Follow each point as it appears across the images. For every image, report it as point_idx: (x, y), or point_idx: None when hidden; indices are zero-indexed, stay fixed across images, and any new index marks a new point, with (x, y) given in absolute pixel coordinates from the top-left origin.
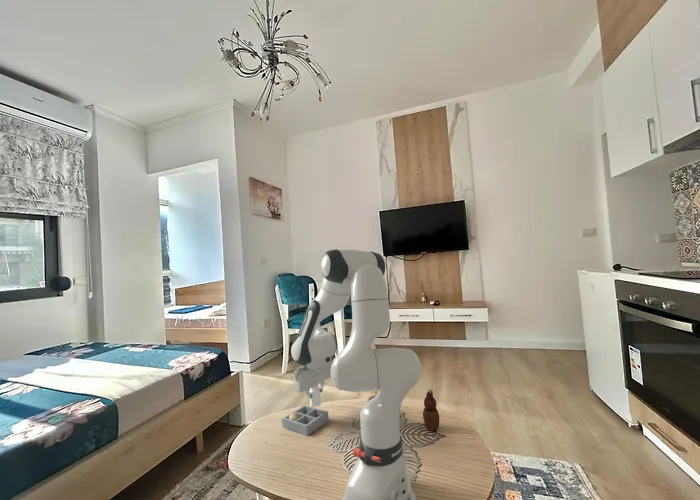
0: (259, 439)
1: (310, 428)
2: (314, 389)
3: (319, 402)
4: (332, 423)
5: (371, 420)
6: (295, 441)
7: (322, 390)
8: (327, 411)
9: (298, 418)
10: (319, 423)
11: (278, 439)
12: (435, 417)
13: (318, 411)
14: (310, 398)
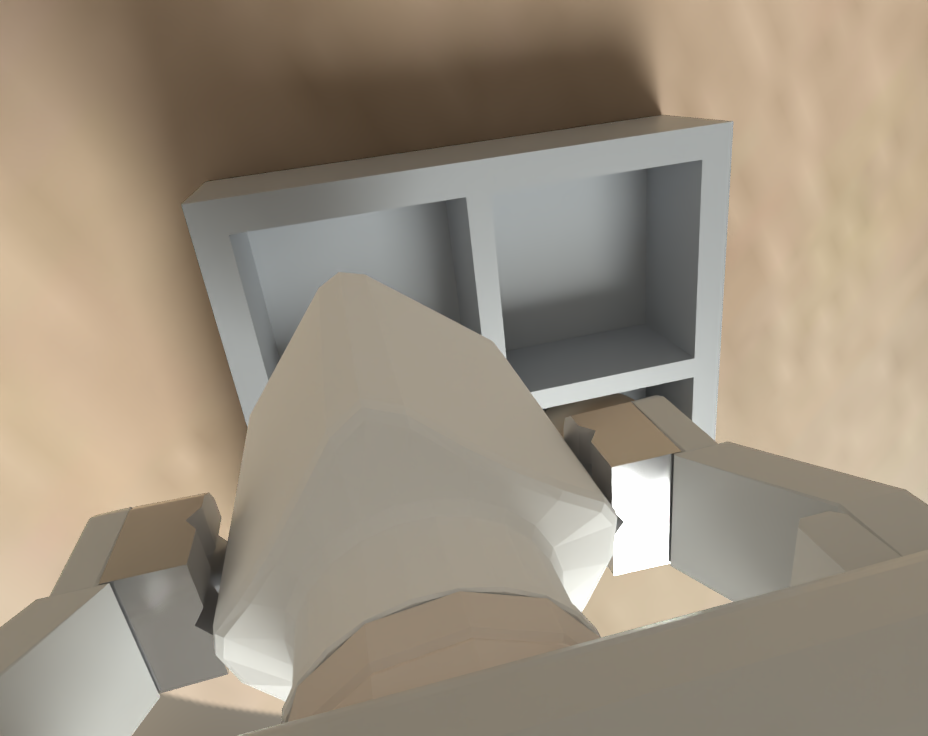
0: (887, 456)
1: (615, 128)
2: (532, 547)
3: (372, 288)
4: (222, 50)
5: None
6: (801, 135)
7: (96, 529)
8: (189, 210)
9: (604, 407)
10: (419, 155)
11: (833, 323)
12: None
13: (269, 374)
14: (636, 401)
